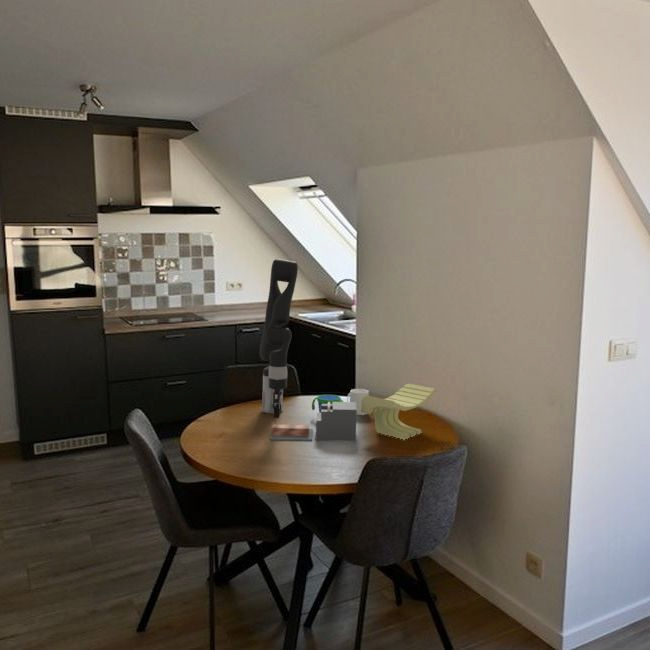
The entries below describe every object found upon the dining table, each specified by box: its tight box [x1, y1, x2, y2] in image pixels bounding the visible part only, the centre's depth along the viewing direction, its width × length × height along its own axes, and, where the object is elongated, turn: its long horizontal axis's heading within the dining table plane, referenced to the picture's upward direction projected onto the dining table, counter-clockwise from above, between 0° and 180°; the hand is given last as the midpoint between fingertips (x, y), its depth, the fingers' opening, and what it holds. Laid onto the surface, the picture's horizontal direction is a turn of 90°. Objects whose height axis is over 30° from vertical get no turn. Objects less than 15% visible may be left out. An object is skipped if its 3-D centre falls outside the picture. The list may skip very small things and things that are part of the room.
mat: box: [269, 428, 314, 442], centre depth 263 cm, size 17×14×1 cm
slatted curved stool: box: [361, 383, 436, 441], centre depth 267 cm, size 30×16×18 cm, turn 139°
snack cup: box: [311, 394, 345, 413], centre depth 286 cm, size 16×10×10 cm
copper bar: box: [271, 423, 310, 436], centre depth 262 cm, size 15×5×3 cm, turn 90°
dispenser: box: [315, 401, 357, 442], centre depth 262 cm, size 16×12×13 cm
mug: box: [346, 388, 370, 416], centre depth 297 cm, size 9×12×11 cm
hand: (277, 414), depth 262 cm, fingers open, 8 cm apart
